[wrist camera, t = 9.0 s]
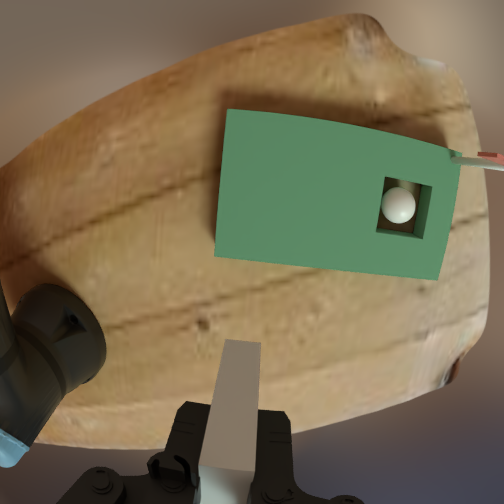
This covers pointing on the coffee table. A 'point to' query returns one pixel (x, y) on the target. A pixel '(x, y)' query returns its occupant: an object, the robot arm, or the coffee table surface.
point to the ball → (398, 205)
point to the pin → (482, 161)
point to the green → (329, 195)
